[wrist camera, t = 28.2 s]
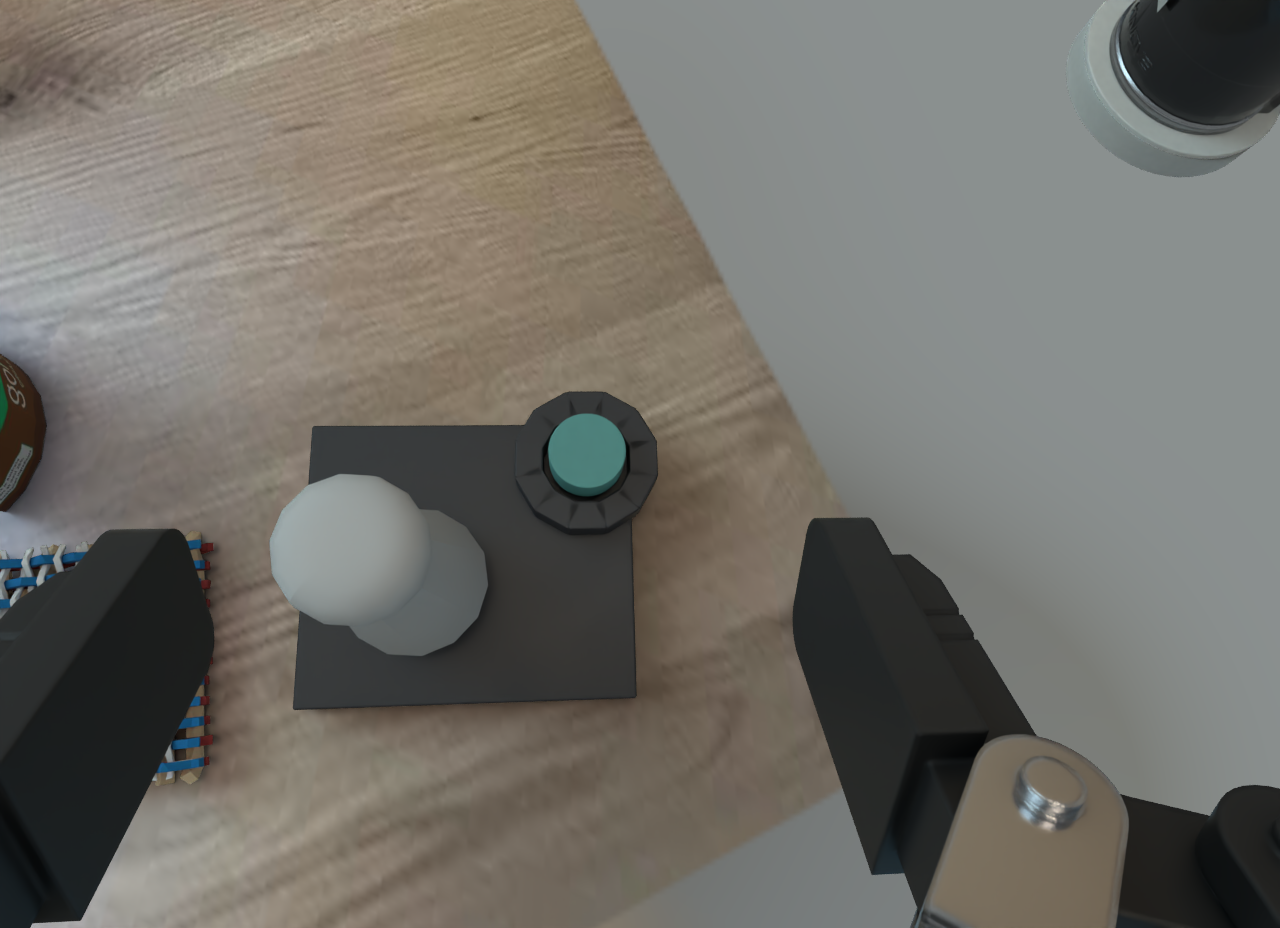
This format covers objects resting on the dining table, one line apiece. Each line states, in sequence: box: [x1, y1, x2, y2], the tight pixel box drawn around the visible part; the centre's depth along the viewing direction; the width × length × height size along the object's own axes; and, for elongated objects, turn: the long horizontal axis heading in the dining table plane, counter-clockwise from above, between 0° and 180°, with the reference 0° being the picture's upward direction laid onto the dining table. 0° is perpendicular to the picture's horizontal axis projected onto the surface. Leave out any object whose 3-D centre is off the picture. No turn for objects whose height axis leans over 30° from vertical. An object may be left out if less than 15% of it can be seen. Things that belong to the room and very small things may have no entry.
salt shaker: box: [269, 474, 488, 656], centre depth 28 cm, size 6×6×13 cm
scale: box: [293, 392, 658, 710], centre depth 35 cm, size 15×13×4 cm
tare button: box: [548, 414, 626, 497], centre depth 34 cm, size 3×3×2 cm
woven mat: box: [0, 531, 214, 786], centre depth 33 cm, size 10×11×2 cm
